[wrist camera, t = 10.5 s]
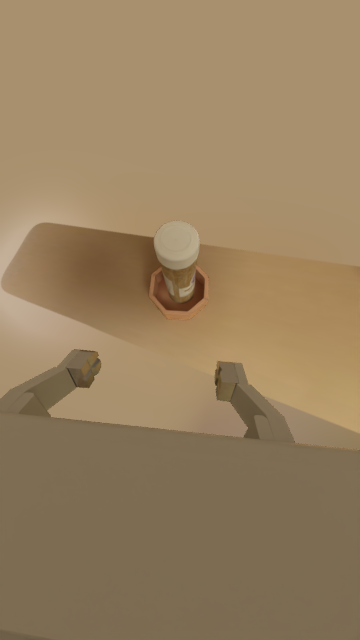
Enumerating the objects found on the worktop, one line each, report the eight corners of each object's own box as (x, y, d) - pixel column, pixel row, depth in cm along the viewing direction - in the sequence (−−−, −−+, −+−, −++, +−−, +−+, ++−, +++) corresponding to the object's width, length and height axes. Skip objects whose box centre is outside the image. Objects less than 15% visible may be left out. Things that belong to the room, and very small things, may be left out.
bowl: (206, 272, 30) (209, 261, 27) (204, 321, 28) (207, 316, 25) (157, 269, 31) (153, 258, 27) (151, 317, 29) (146, 312, 25)
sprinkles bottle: (193, 304, 28) (199, 260, 15) (167, 303, 29) (150, 259, 15) (194, 280, 29) (200, 218, 16) (169, 279, 30) (154, 217, 16)
